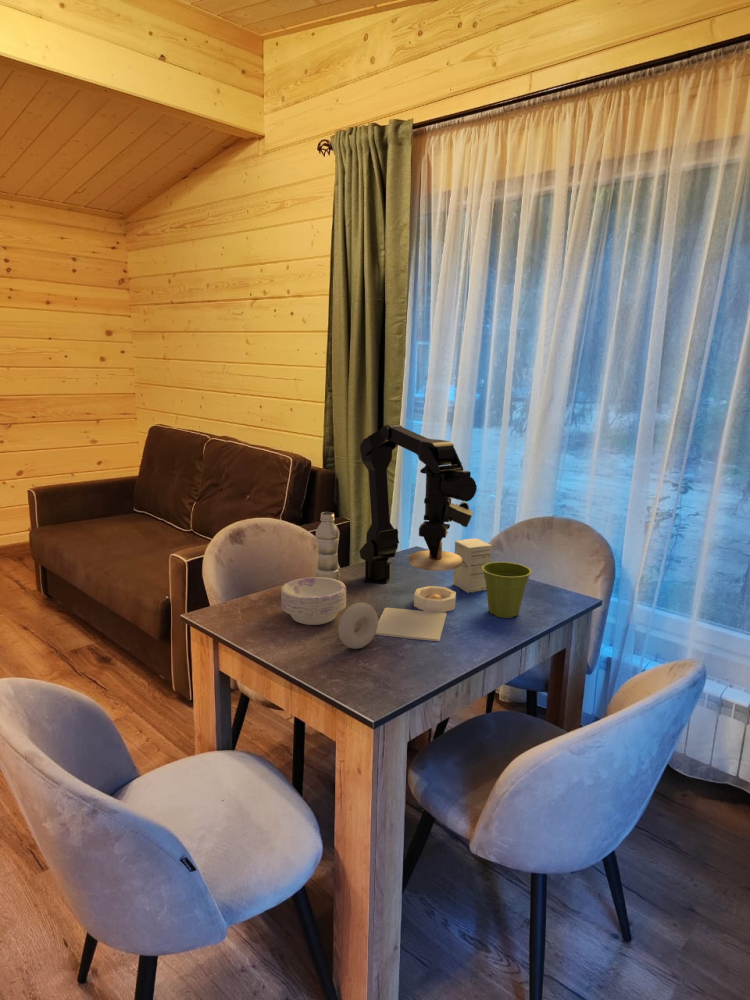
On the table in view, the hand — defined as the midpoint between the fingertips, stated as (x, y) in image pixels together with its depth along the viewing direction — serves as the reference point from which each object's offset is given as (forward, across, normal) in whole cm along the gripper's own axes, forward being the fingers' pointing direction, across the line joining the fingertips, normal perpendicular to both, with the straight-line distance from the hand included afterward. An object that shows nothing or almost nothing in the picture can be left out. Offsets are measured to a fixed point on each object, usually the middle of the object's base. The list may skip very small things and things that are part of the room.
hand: (435, 556), depth 156 cm
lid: (+2, 0, 0) cm, 2 cm away
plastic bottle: (+13, +8, +30) cm, 34 cm away
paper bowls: (+13, -14, +27) cm, 33 cm away
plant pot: (+13, 0, -17) cm, 22 cm away
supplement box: (+13, +16, -8) cm, 22 cm away
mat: (+13, -12, +4) cm, 19 cm away
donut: (+13, -27, +13) cm, 33 cm away
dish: (+13, +1, 0) cm, 13 cm away
